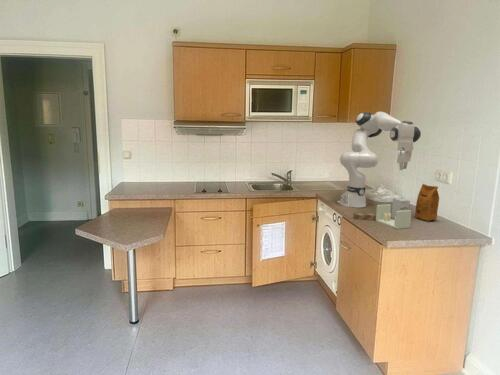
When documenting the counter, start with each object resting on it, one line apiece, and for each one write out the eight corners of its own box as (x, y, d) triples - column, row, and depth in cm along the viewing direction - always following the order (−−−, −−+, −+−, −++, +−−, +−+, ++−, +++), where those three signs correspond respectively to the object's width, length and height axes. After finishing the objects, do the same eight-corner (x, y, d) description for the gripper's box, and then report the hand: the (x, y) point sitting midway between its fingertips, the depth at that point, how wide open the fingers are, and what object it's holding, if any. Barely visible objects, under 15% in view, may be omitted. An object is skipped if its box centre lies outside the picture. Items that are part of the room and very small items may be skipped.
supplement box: (398, 220, 223) (400, 200, 221) (390, 217, 230) (392, 198, 228) (408, 219, 225) (410, 200, 223) (400, 216, 232) (402, 197, 230)
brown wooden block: (356, 220, 221) (356, 215, 221) (353, 218, 226) (353, 213, 226) (377, 221, 222) (378, 215, 221) (374, 219, 227) (375, 213, 226)
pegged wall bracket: (375, 220, 221) (376, 205, 219) (388, 219, 224) (389, 204, 223) (396, 228, 204) (398, 211, 203) (410, 227, 208) (411, 210, 206)
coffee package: (423, 215, 236) (427, 183, 232) (439, 220, 225) (443, 186, 221) (411, 216, 233) (415, 183, 229) (427, 221, 221) (431, 186, 217)
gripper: (406, 148, 213) (404, 171, 215) (413, 147, 229) (411, 168, 232) (395, 148, 217) (393, 170, 219) (403, 146, 233) (401, 167, 235)
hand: (402, 169), depth 226 cm, fingers open, 8 cm apart
